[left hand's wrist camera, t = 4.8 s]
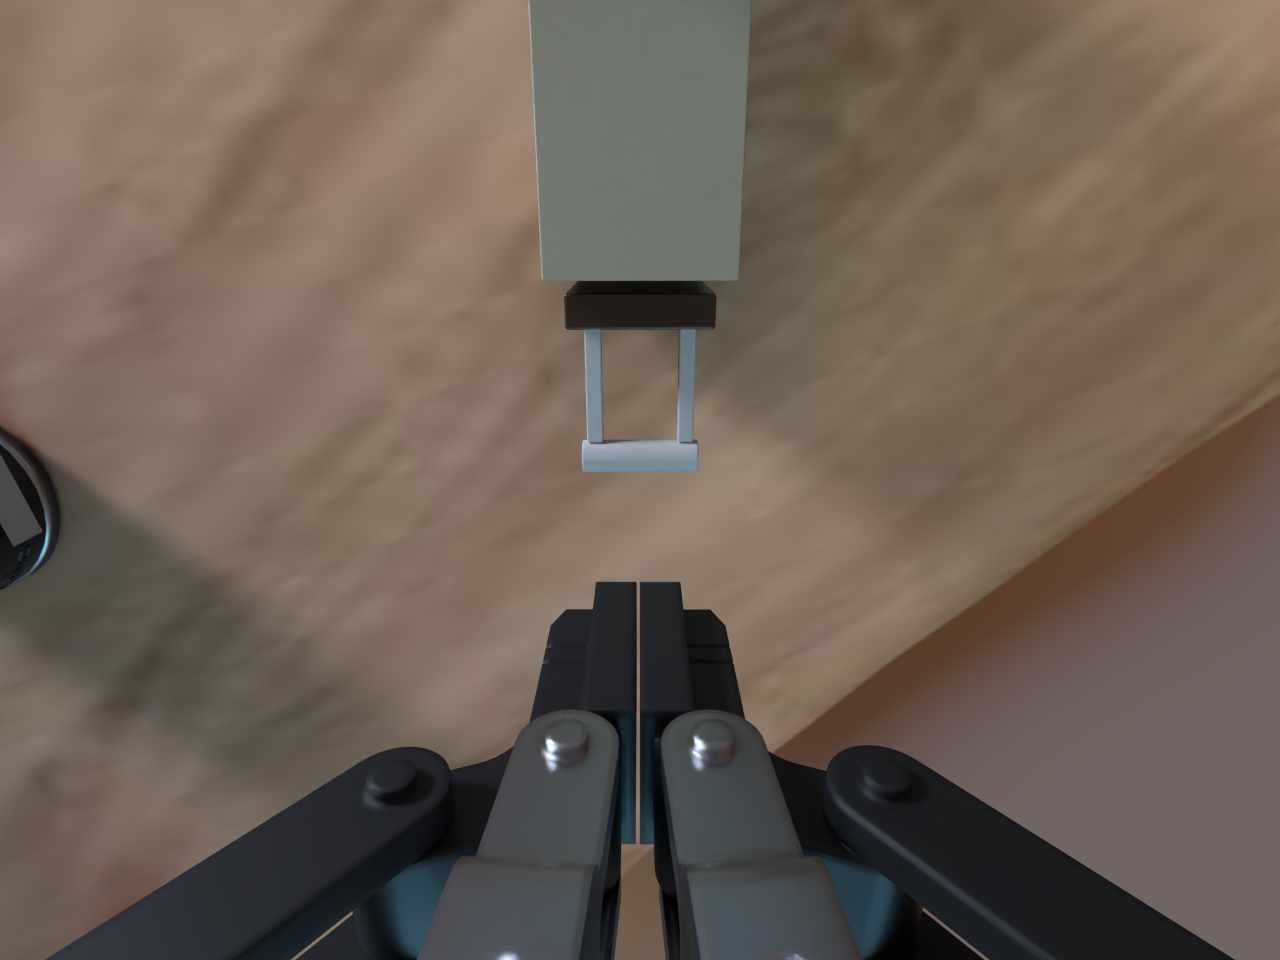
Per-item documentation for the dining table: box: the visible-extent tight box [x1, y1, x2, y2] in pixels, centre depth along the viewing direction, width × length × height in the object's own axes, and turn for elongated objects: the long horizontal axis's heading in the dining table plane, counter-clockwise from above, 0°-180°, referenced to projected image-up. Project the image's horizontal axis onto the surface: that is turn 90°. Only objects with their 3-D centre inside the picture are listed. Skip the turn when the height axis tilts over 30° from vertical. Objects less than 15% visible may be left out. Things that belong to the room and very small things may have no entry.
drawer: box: [564, 281, 716, 472], centre depth 25 cm, size 22×5×6 cm, turn 0°
